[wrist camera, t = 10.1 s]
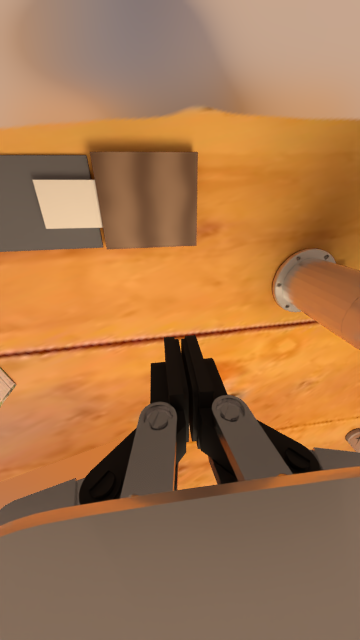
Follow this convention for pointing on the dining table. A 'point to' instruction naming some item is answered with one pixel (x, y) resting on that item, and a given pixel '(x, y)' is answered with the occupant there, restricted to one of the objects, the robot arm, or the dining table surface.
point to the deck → (147, 198)
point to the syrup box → (5, 386)
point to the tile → (68, 203)
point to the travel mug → (354, 439)
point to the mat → (23, 206)
